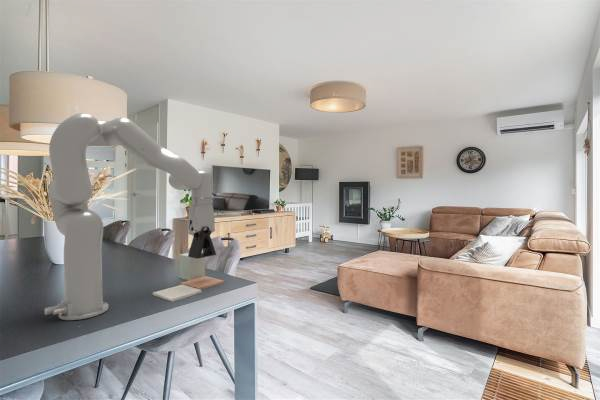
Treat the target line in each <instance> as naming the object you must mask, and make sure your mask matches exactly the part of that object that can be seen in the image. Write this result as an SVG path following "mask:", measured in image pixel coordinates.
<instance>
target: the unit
mask: <svg viewBox="0 0 600 400" xmlns="http://www.w3.org/2000/svg"><path fill="white" fill-rule="evenodd" d="M188 254H189V252H186V253H182V254H178V256H179V257H178V258H179V262H178V264H179V279H183V280H185V281H188V280H192V279H196V278H200V277H204V276H206V267H205V266H206V265H205V264H206V257H203V258H199V259H197V258H192V257H188Z"/></svg>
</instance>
